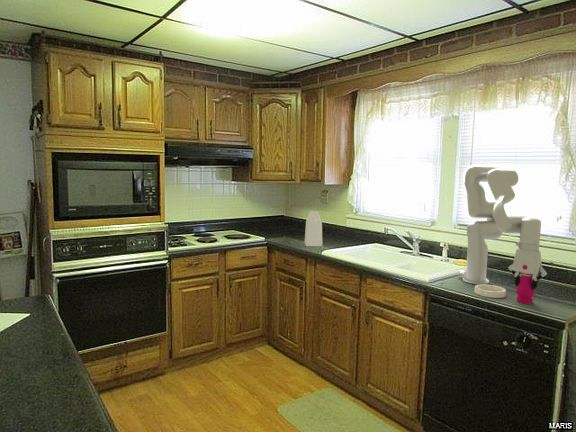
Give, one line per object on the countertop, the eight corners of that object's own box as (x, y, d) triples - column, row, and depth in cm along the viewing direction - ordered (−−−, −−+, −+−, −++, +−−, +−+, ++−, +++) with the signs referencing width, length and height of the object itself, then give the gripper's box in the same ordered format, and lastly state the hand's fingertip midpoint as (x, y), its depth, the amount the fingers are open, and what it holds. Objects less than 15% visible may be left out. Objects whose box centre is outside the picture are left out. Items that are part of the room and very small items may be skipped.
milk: (320, 245, 310) (321, 210, 306) (322, 247, 298) (323, 212, 295) (304, 244, 309) (304, 210, 306) (305, 247, 297) (306, 212, 294)
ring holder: (469, 292, 193) (469, 287, 193) (481, 287, 202) (482, 282, 202) (498, 299, 183) (498, 294, 183) (510, 294, 192) (510, 288, 192)
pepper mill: (521, 298, 186) (525, 254, 184) (537, 302, 180) (541, 258, 178) (511, 300, 183) (515, 256, 181) (527, 305, 177) (531, 259, 174)
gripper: (504, 245, 183) (501, 284, 185) (548, 251, 170) (544, 293, 172) (511, 243, 188) (508, 281, 190) (554, 249, 175) (550, 290, 177)
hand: (525, 287), depth 181 cm, fingers closed on pepper mill, 5 cm apart
